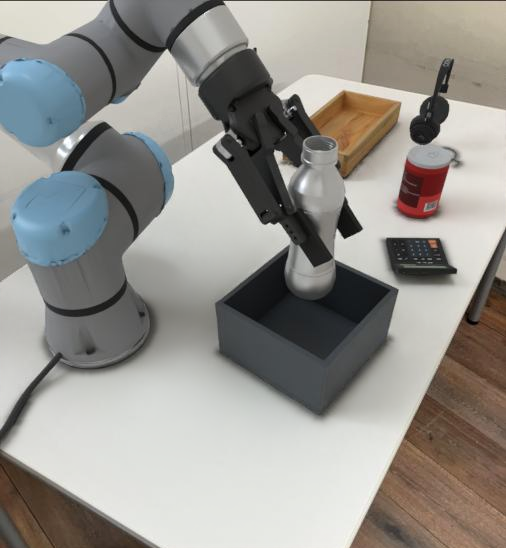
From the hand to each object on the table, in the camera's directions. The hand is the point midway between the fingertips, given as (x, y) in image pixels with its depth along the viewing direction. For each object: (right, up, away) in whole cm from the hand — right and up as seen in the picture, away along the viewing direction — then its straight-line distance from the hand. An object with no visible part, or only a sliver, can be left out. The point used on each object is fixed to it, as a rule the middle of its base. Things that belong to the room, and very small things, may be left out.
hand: (338, 247), depth 60 cm
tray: (+11, +35, +59) cm, 69 cm away
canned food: (+22, +15, +40) cm, 48 cm away
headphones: (+29, +28, +52) cm, 66 cm away
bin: (-3, -12, +16) cm, 20 cm away
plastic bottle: (-3, -4, +8) cm, 9 cm away
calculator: (+18, +2, +29) cm, 34 cm away
